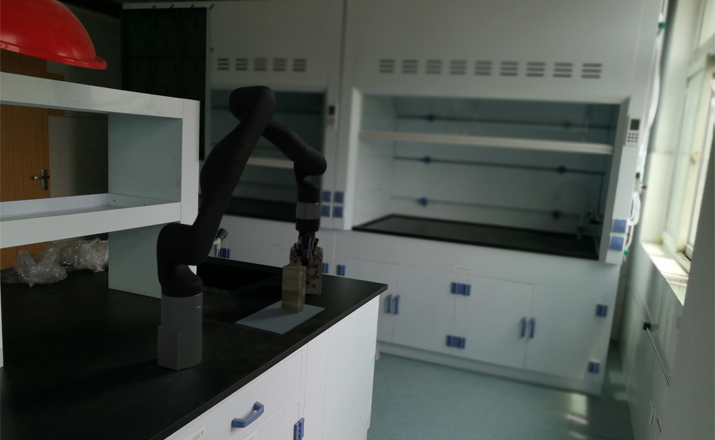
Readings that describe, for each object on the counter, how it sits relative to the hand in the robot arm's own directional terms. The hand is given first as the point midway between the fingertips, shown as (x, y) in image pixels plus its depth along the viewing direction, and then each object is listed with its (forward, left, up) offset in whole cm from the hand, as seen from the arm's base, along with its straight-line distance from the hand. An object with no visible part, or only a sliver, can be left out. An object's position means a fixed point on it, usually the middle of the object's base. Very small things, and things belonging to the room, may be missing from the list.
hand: (305, 268), depth 168 cm
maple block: (-7, 0, -12) cm, 14 cm away
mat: (-13, 0, -13) cm, 18 cm away
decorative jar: (+15, +8, -13) cm, 21 cm away
